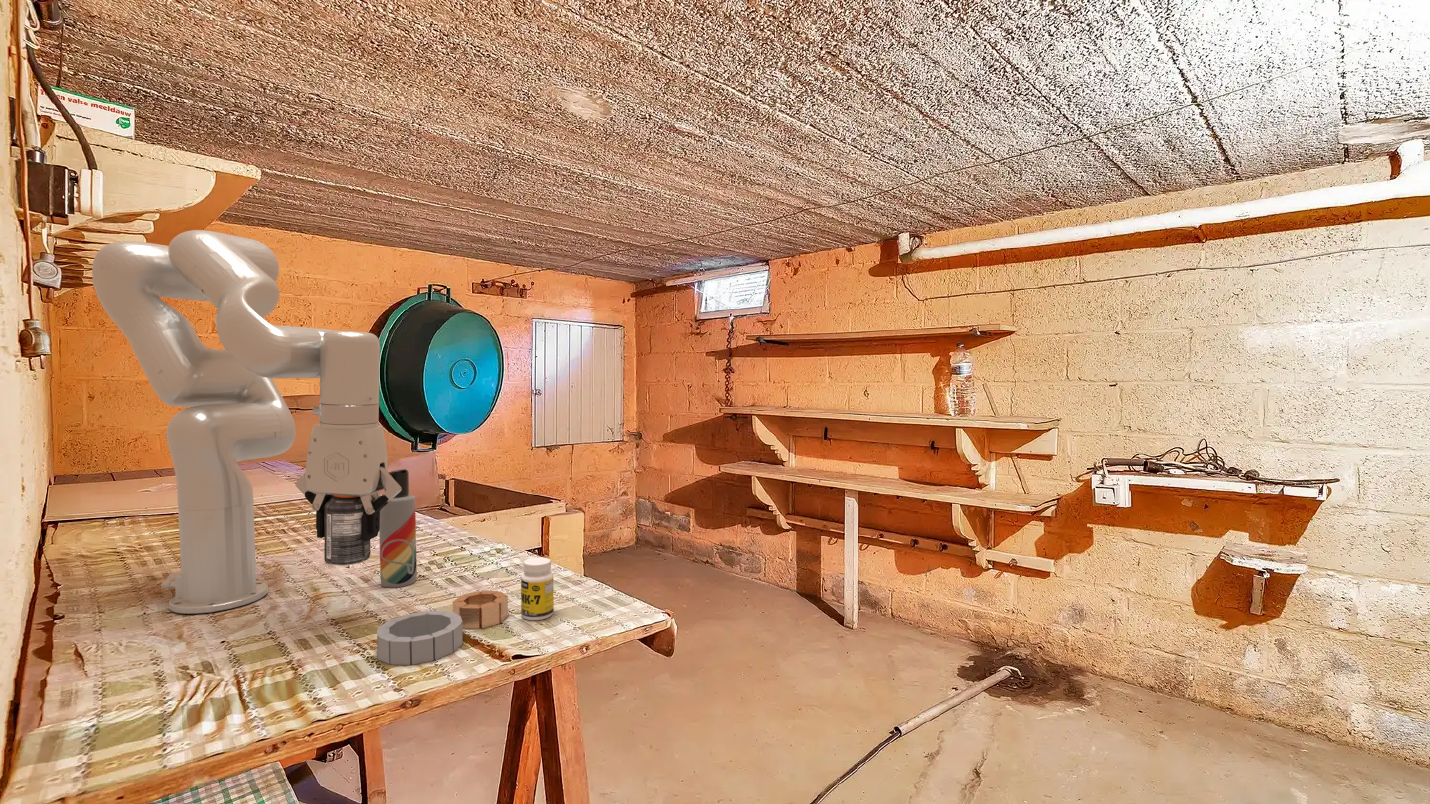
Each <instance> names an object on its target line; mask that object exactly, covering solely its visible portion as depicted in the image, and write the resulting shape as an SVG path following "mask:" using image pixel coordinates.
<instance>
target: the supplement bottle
mask: <svg viewBox="0 0 1430 804" xmlns="http://www.w3.org/2000/svg"><path fill="white" fill-rule="evenodd" d="M551 560H552V559H550V558H548V557H541V556H540V557H538V556H537V557H532V558H527V559H524V561H523V569H522V570H523V573H522V574H521V577H520V602H521V603H520V614H521V617H522V619H523V620H529V621H542V620H545V619H548V618H550V617H552V615H553V614H554V609H555V608H554V573H553V572H552V571H551V570H552V561H551Z"/></svg>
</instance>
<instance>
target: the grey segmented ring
mask: <svg viewBox="0 0 1430 804" xmlns="http://www.w3.org/2000/svg"><path fill="white" fill-rule="evenodd" d="M376 638H377V639H376V642H377V643H376V646H377V648H376V650H377V659H378V660H379V661H381V662H383V663H386V664H387V665H396V666H410V665H412V666H413V665H418V664H424V663H429V662H433V661H437V660H440V659H442V658H444V657H447V656H449V655H451V654H454V653H455V652H456V651H457V650H458V649H459V648H460V647H461V646H462V645H463V644H464V643H463V640H464V639H463V638H464V637H463V629H462V619H461V615H458V614H456V613H453V611H447V610H424V611H419V612H412V613H411V612H410V613H409V614H404V615H401V616H397V617H395V618H391V619H390V620H387V621H386V622H384V623H383V624H382V625H380V626H379V627H378V628H377V629H376Z"/></svg>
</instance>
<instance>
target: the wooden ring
mask: <svg viewBox="0 0 1430 804" xmlns="http://www.w3.org/2000/svg"><path fill="white" fill-rule="evenodd" d="M508 597H509V596H508V595H507V594H505V593H504V592H502V591H500V590H481V591H480V590H478V591H474V592H470V593H469V592H468V593H465V594H462V595H459V596H457V598H456V599H455V600H453V601H452V612H453V613H456V614H458V615H461V619H462V629H467V630H468V629H470V630H473V629H474V630H479V629H485V628H489V627H493V626H497V625H499V624H501V623H503V622H504V621H505V620H506V619H507V618H508V616H509V606H508V605H509V603H508V602H509V599H508Z"/></svg>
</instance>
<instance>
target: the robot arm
mask: <svg viewBox="0 0 1430 804" xmlns="http://www.w3.org/2000/svg"><path fill="white" fill-rule="evenodd" d="M91 273H92V274H91V275H92V276H91V277H92V285H93V288H94V292H95V294H96V297H97V298H98V299H97V300H98V302H100V303H99V304H100V305H101V307H102V308H103V309H104V311H105V313H106V314H107V316H109V318H110V319H111V320H112V322H113V323H114V324H115V326H117V328H118V329H119V330H120V331H121V333H122V335H123V336H124V337H125V338H126V340H127V342H128V343H129V344H130V345H129V346H130V347H131V348H132V349H131V350H132V351H133V353H134V356H135V357H136V359H137V361H138V363H139V365H140V367H141V369H142V371H143V373H144V374H145V377H146V378H147V380H148V383H149V385H150V386H151V387H152V389H153V391H154V393H155V394H156V395H157V397H158V398H159V400H161V401H162V402H163V403H165V404H166V405H168V406H172V407H180V408H181V407H182V408H185V409H183V410H180V411H179V412H177V413H175V415H174V416H172V417H171V419H169V421H168V424H167V426H166V431H165V434H166V442H167V447H168V450H169V454H170V458H171V461H172V465H173V469H174V475H175V482H176V491H177V492H176V493H177V495H176V496H177V511H178V512H177V513H178V531H179V535H178V536H179V554H180V555H179V556H180V558H179V559H180V572H172V573H169V574H168V576H167V579H164V580H163V581H162V582H161V585H160V586H161V589H174V590H175V594H174V595H175V596H173V597H172V598H171V599H170V600H169V602H168V607H169V610H170V611H171V612H173V613H177V614H183V615H184V614H185V615H187V614H189V615H191V614H192V615H193V614H195V615H196V614H205V613H215V612H219V611H220V612H221V611H225V610H230V609H234V608H238V607H242V606H245V605H249V604H251V603H253V602H255V601H259V600H260V599H262V598H263V597H264V596H266V595H267V594H268V592H269V588H268V587H269V586H268V585H269V584H268V583H266V582H264V581H260V580H257V566H256V564H257V563H256V537H255V536H256V535H255V531H256V530H255V509H254V506H255V505H254V503H255V501H254V492H253V491H254V490H253V487H252V483H251V481H250V479H249V477H248V476H247V475H246V473H245V472H243V470H242V469H241V468H240V467H239V465H238V462H239V463H240V462H243V461H249V460H257V459H263V458H264V459H265V458H271V457H275V456H279V455H282V454H283V453H285V452H287V451H289V450H290V448H291V447H292V446H293V445H294V443H295V439H296V436H297V435H296V434H297V433H296V431H297V430H296V423H295V421H294V417H293V415H292V413H291V411H290V409H289V407H288V405H287V403H286V401H285V399H284V397H283V395H282V394H281V391H280V390H279V388H278V386H277V385H276V382H275V381H274V380H275V379H277V380H278V379H319V404H318V405H315V406H313V407H312V411H311V412H312V414H313V415H314V416H318V421H319V422H318V423H316V424H313V427H312V430H311V433H310V437H309V441H308V446H307V453H306V462H305V473H304V474H302V476H300V478H299V479H298V480H297V481H296V482H295V487H296V488H297V489H298V490H299V491H300V492H301V493H302V494H303V495H304V498H305V499H306V500H307V501H308V502H309V503H310V504H311V509H312V510H313V511H315V513H316V514H315V529H316V538H318V539H323V538H325V534H324V533H325V532H324V530H325V528H324V527H325V525H324V524H325V517H324V516H325V505H326V503H327V502H328V501H329V500H331V499H332V498H333V495H343V496H360V497H361V500H362V503H363V505H364V508H365V511H366V513H365V514H362V518H361V540H362V541H368V540H370V541H371V540H372V539H374V538H376V537H377V536H378V535H379V530H380V510H382V509H383V508H384V507H385V506H386V505H387V504H388V503H389V502H390V501H391V500H392V498H394V497H395V496H396V495H397V494H398V493H399V492H401V490H402V488H401V486H400V485H399V484H398V483H397V482H396V481H395V480H394V479H393V477H392V476H391V475H390V474H389V473H388V472H389V464H388V461H389V460H388V451H387V449H388V448H387V442H386V436H385V432H384V428H383V425H381V424H380V425H379V417H380V415H379V414H380V413H379V412H380V411H379V410H380V409H379V408H380V404H379V403H380V365H381V364H380V357H381V355H380V354H381V352H380V351H381V344H380V339H379V337H378V336H377V335H375V334H374V333H372V332H366V331H354V330H353V331H351V330H334V329H330V328H317V327H309V326H296V325H295V326H293V325H277V324H276V325H274V324H272V323H270V322H269V321H267V320H266V319H265V318H266V317H267V316H269V315H270V314H271V313H272V312H273V311H274V309H275V308H276V306H278V303H279V302H280V301H279V300H280V290H279V287H278V284H277V283H276V281H277V280H278V277H279V274H280V264H279V260H278V258H277V256H276V254H275V252H273V251H272V249H271V247H269V246H268V245H266V244H264V243H263V242H261V241H258V240H255V239H253V238H248V237H244V236H243V237H242V236H237V235H232V234H227V233H223V232H218V231H213V230H204V229H192V230H187V231H183V232H180V233H178V235H175V236H174V237H173V238H172V239H171V241H170V242H169V244H168V245H164V244H159V243H153V242H146V241H134V240H133V241H131V240H130V241H129V240H127V241H125V240H124V241H115V242H112V243H108V244H106V245H104V246H102V247H101V248H100V249H99V250H98V251H97V252H96V254H95V256H94V257H93V262H92V266H91ZM162 298H168V299H179V300H188V301H190V300H191V301H199V302H210V303H211V304H212V305H213V306H214V307H215V308H216V309H217V310H216V313H215V327H216V332H217V335H218V339H219V342H220V343H221V345H222V346H223V348H224V349H216V348H210V347H208V346H206V345H204V343H203V342H202V341H201V339H200V337H199V336H198V334H197V332H196V330H195V328H194V326H193V325H192V323H191V322H190V321H189V320H188V319H187V318H186V317H185V316H184V315H183V314H182V313H181V312H179V311H178V310H177V309H176V308H174V307H172V306H171V305H169V304H168V303H166V302H165V301H164V300H163V299H162ZM385 488H386V491H385ZM382 490H384V492H383V493H382V495H381V494H380V491H382Z"/></svg>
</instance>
